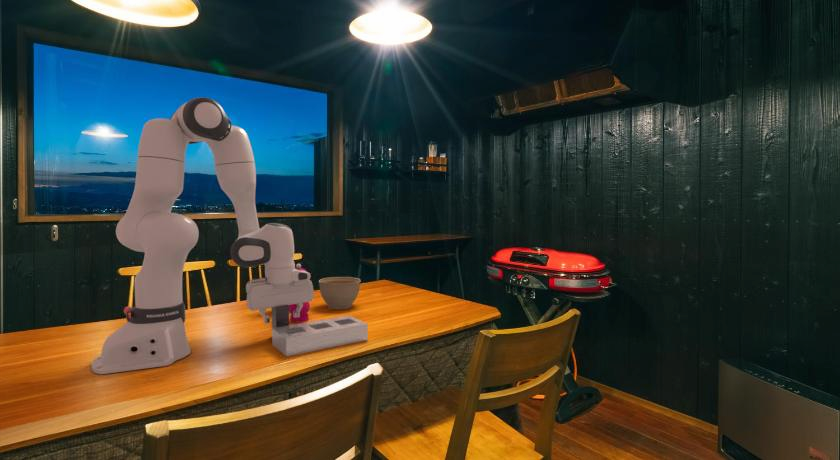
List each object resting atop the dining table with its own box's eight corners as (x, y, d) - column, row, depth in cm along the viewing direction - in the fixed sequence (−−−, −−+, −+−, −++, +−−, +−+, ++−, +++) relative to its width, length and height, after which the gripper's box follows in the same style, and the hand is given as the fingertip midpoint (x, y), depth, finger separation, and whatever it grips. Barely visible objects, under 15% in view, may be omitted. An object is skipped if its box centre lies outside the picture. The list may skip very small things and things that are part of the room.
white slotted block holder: (286, 356, 123) (286, 338, 122) (272, 344, 132) (272, 328, 132) (367, 340, 137) (367, 323, 137) (349, 330, 147) (349, 315, 147)
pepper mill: (304, 323, 156) (303, 265, 154) (285, 322, 157) (283, 264, 156) (313, 317, 163) (312, 262, 161) (294, 316, 164) (293, 262, 163)
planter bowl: (357, 312, 171) (357, 283, 170) (314, 312, 171) (314, 283, 170) (363, 302, 187) (363, 276, 186) (324, 302, 187) (323, 276, 186)
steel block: (276, 340, 137) (275, 307, 136) (272, 336, 140) (271, 304, 140) (289, 337, 139) (288, 305, 139) (285, 334, 143) (284, 303, 142)
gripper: (248, 281, 130) (250, 328, 132) (315, 273, 143) (316, 316, 144) (242, 278, 135) (244, 323, 137) (307, 270, 148) (308, 312, 149)
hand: (282, 319), depth 140 cm, fingers open, 8 cm apart
